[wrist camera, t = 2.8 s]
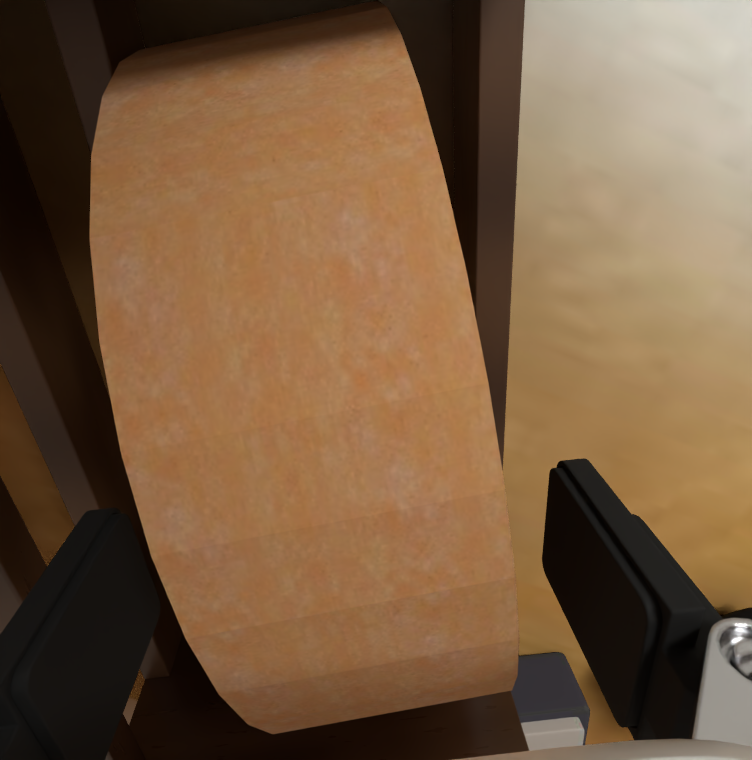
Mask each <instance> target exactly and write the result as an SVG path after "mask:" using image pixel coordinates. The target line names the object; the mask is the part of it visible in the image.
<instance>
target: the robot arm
mask: <svg viewBox="0 0 752 760" xmlns="http://www.w3.org/2000/svg"><path fill="white" fill-rule="evenodd" d="M542 562H543V568H544V572H545V574H546V577H547V579H548V581H549V583H550V585H551V587H552V589H553V591H554V593H555V595H556V597H557V599H558V602H559V604H560V606H561V608H562V610H563V612H564V614H565V616H566V618H567V620H568V622H569V624H570V626H571V629H572V631H573V633H574V635H575V637H576V639H577V641H578V643H579V645H580V647H581V649H582V651H583V653H584V655H585V658H586V660H587V662H588V664H589V666H590V668H591V670H592V672H593V674H594V676H595V678H596V680H597V682H598V685H599V687H600V689H601V691H602V693H603V695H604V697H605V699H606V701H607V703H608V705H609V707H610V709H611V711H612V714H613V716H614V718H615V719H616V721H617V723H618V724H619V725H620V726H621V727H628V728H629V730H630V732H631V734H632V736H633V738H634V741H623V742H613V743H602V744H592V745H581V746H571V747H560V748H550V749H541V750H532V751H523V752H515V753H506V754H497V755H489V756H480V757H471V758H463V759H454V760H752V620H751V619H745V618H728V619H723V618H722V617H721V616H720V615H719V613H718V612H717V611H716V610H715V608H714V607H713V606H712V605H711V604H710V602H709V601H708V600H707V599H706V597H705V596H704V595H703V594H702V592H701V591H700V590H699V589H698V588H697V586H696V585H695V584H694V583H693V581H692V580H691V579H690V578H689V576H688V575H687V574H686V573H685V572H684V570H683V569H682V568H681V567H680V565H679V564H678V563H677V562H676V560H675V559H674V558H673V557H672V556H671V554H670V553H669V552H668V551H667V549H666V548H665V547H664V546H663V544H662V543H661V542H660V541H659V540H658V538H657V537H656V536H655V535H654V533H653V532H652V531H651V530H650V528H649V527H648V526H647V525H646V524H645V522H644V521H643V520H642V519H641V518H640V517H639V516H636V515H634V514H631V513H630V512H629V511H628V509H627V508H626V507H625V506H624V504H623V503H622V502H621V501H620V499H619V498H618V497H617V496H616V494H615V493H614V492H613V491H612V489H611V488H610V487H609V486H608V484H607V483H606V482H605V481H604V479H603V478H602V477H601V476H600V474H599V473H598V472H597V470H596V469H595V468H594V467H593V465H592V464H591V463H590V462H589V461H588V460H587V459H574V460H565V461H560V462H559V463H558V464H557V468H552V469H551V470H550V474H549V486H548V497H547V509H546V520H545V532H544V543H543V554H542ZM160 610H161V605H160V599H159V596H158V594H157V591H156V588H155V585H154V583H153V580H152V577H151V575H150V572H149V569H148V566H147V564H146V561H145V558H144V556H143V553H142V550H141V547H140V545H139V542H138V539H137V537H136V534H135V531H134V529H133V526H132V523H131V520H130V518H129V516H128V515H127V514H125V513H123V514H122V513H121V511H120V510H119V509H118V508H106V509H96V510H89V511H87V512H85V514H84V515H83V516H82V517H81V519H80V520H79V522H78V523H77V525H76V526H75V527H74V529H73V530H72V532H71V533H70V535H69V536H68V538H67V539H66V540H65V542H64V543H63V545H62V546H61V548H60V549H59V550H58V552H57V553H56V555H55V556H54V558H53V559H52V561H51V562H50V563H49V565H48V566H47V568H46V569H45V571H44V572H43V574H42V575H41V576H40V578H39V579H38V581H37V582H36V584H35V585H34V587H33V588H32V589H31V591H30V592H29V594H28V595H27V597H26V598H25V600H24V601H23V602H22V604H21V605H20V607H19V608H18V610H17V611H16V613H15V614H14V615H13V617H12V618H11V620H10V621H9V623H8V624H7V626H6V627H5V628H4V630H3V631H2V633H1V634H0V760H105V759H106V756H107V753H108V751H109V748H110V745H111V743H112V740H113V738H114V735H115V732H116V730H117V727H118V724H119V722H120V719H121V717H122V714H123V711H124V709H125V706H126V703H127V701H128V698H129V696H130V693H131V690H132V688H133V685H134V682H135V680H136V677H137V675H138V672H139V669H140V667H141V664H142V661H143V659H144V656H145V654H146V651H147V648H148V646H149V643H150V640H151V638H152V635H153V633H154V630H155V627H156V625H157V622H158V619H159V616H160Z"/></svg>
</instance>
